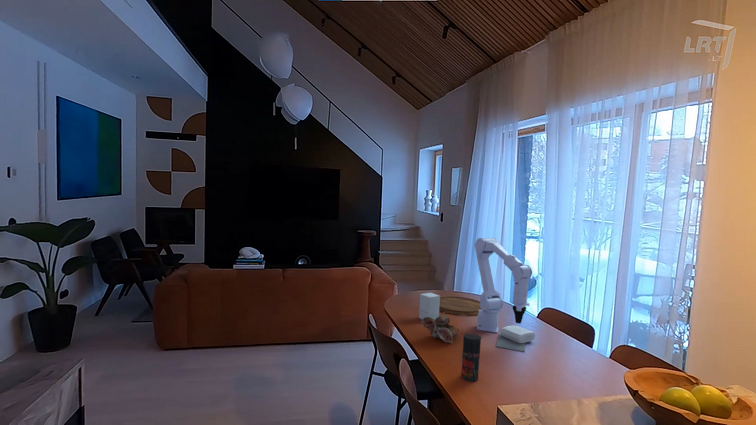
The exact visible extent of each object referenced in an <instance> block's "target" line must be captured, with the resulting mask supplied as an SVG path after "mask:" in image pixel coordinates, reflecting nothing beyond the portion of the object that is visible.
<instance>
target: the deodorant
mask: <svg viewBox="0 0 756 425" xmlns="http://www.w3.org/2000/svg"><path fill="white" fill-rule="evenodd" d="M462 338H463V340H462V355H461V373H460V378H461V379H462V380H463V381H465V382H467V383H468V382H469V383H475V382H478V381H479V371H480V357H481V356H480V355H481V354H480V353H481V346H482V345H481V344H482V343H481V341H482V337H481V336H480V335H479V334H475V333H464V334H463V337H462Z"/></svg>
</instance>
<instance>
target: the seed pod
mask: <svg viewBox="0 0 756 425" xmlns="http://www.w3.org/2000/svg"><path fill="white" fill-rule="evenodd" d="M420 322H421V323H422V325H423V327H424V328H425V329H426V330H428V331H429V332H430V333H429V334H430V336H431V337H432V338H434V339H435V338H437V339H438V338H439V339H441V340H442V341H443V342H445V343H449V344H453V342H454V340H453V339H456V337H457V335H458V333H459V328H458V327H457V326H454V325H452V324H450V322H451V320H450V316H448V314H441V315H439V317H437V318H436V319H435V320H434V319H432V318H430V317H426V318H424V319H423V320H422V319H421V320H420Z"/></svg>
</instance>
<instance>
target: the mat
mask: <svg viewBox="0 0 756 425" xmlns="http://www.w3.org/2000/svg"><path fill="white" fill-rule="evenodd" d="M495 347H496V348H499V349H505V350H510V351H517V352H521V353H525V351H526V342H525V343H518V342H515V341H513V340H511V339H508V338H506V337H504V336H502V335H501V333H499V334H498V337H497V341H496V345H495Z"/></svg>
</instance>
